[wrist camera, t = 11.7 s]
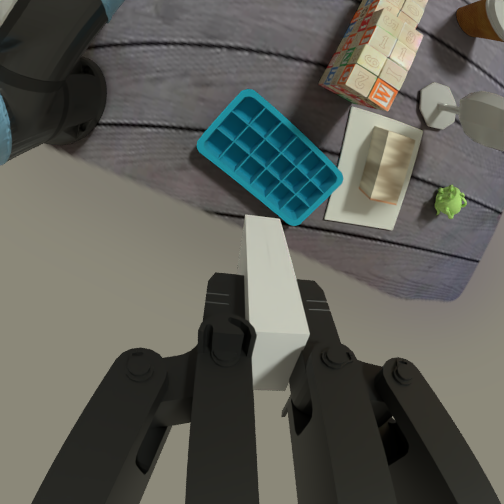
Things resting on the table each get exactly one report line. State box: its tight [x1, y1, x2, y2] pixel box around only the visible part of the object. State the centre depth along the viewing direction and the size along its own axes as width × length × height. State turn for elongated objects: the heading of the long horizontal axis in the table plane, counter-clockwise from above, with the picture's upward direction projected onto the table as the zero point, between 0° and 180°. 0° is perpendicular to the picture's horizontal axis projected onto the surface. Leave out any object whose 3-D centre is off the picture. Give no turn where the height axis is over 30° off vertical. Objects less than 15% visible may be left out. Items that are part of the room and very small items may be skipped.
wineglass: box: [419, 82, 504, 152], centre depth 28 cm, size 9×9×21 cm
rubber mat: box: [324, 106, 423, 230], centre depth 44 cm, size 14×20×1 cm
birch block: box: [359, 126, 416, 205], centre depth 40 cm, size 5×5×11 cm
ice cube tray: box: [197, 89, 344, 226], centre depth 41 cm, size 12×20×3 cm, turn 48°
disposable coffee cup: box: [456, 0, 504, 42], centre depth 22 cm, size 10×10×12 cm
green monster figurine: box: [435, 185, 467, 219], centre depth 44 cm, size 6×5×6 cm
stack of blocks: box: [318, 0, 428, 111], centre depth 27 cm, size 21×6×12 cm, turn 156°
